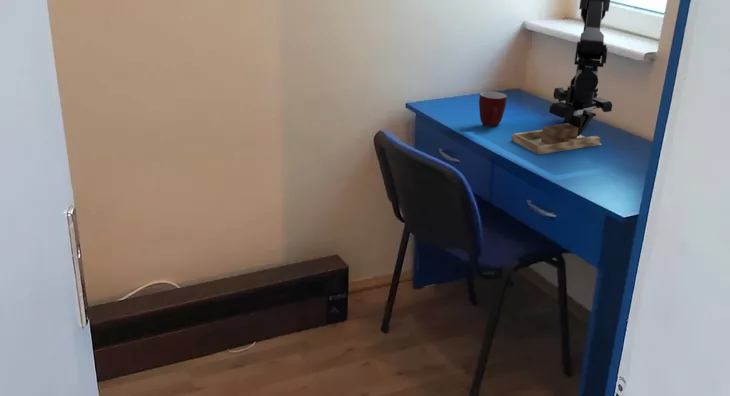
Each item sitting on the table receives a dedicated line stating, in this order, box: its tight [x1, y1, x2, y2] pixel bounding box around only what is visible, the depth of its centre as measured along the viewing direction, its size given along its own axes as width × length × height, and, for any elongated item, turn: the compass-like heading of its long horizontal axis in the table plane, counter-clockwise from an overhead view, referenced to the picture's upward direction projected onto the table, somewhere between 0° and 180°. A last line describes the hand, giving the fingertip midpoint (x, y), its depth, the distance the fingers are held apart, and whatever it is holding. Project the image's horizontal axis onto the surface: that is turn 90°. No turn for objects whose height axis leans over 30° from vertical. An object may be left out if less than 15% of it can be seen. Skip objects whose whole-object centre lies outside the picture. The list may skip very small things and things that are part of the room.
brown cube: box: [556, 122, 578, 142], centre depth 211 cm, size 4×4×4 cm
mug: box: [478, 90, 508, 127], centre depth 222 cm, size 11×8×10 cm
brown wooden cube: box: [541, 124, 566, 145], centre depth 209 cm, size 4×4×4 cm
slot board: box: [511, 129, 603, 155], centre depth 210 cm, size 23×12×3 cm, turn 117°
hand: (576, 136), depth 213 cm, fingers closed
